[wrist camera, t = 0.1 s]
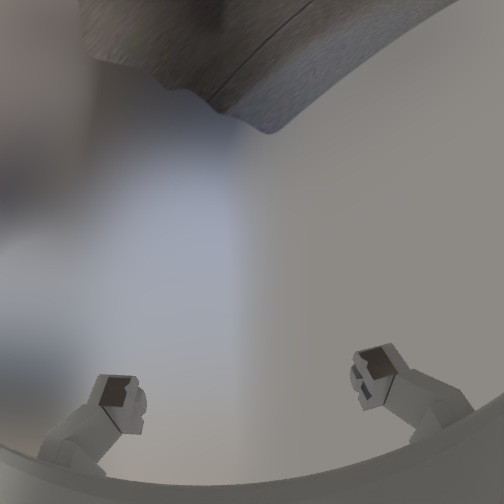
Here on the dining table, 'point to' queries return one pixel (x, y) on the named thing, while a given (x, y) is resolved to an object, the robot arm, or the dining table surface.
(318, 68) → the dining table surface
